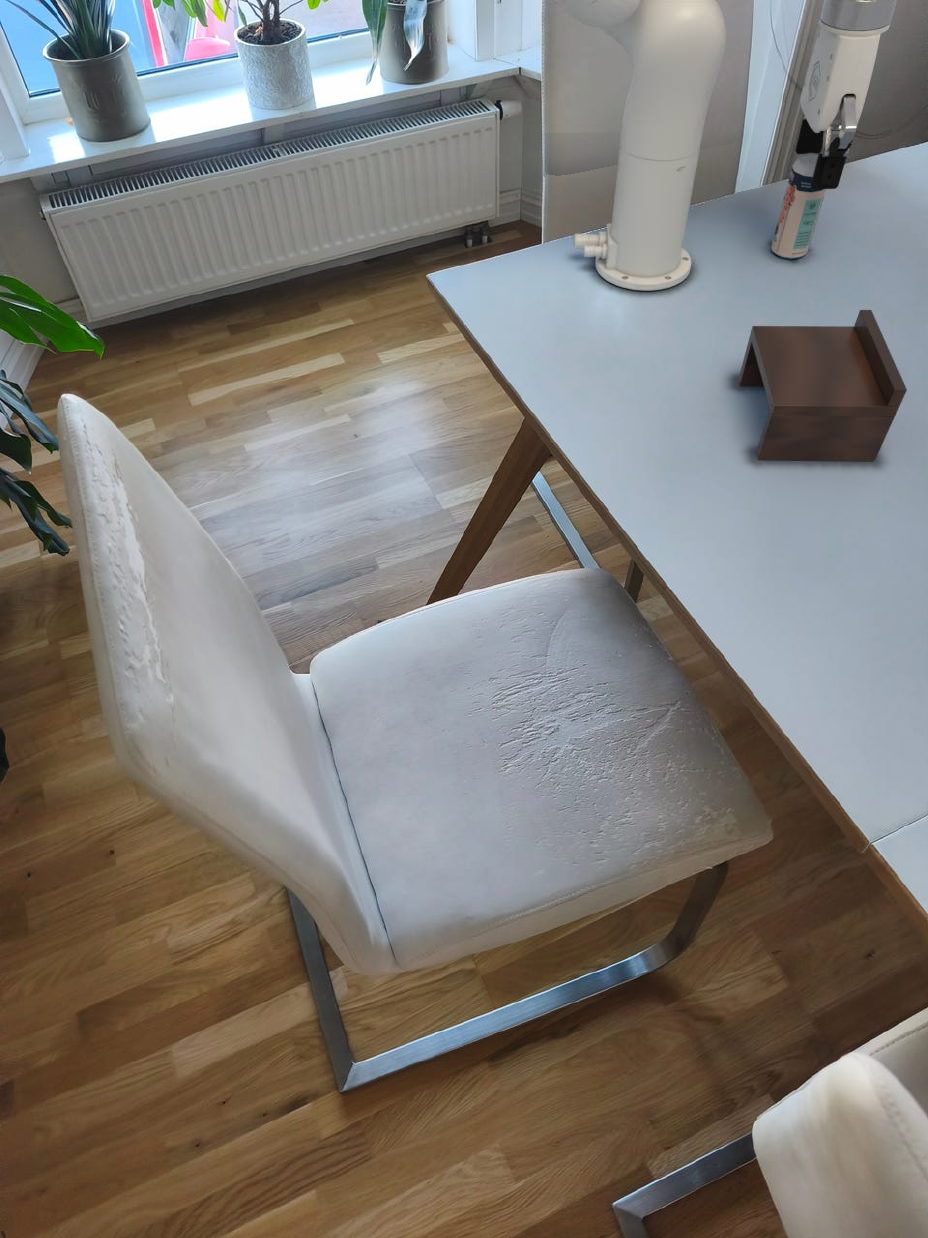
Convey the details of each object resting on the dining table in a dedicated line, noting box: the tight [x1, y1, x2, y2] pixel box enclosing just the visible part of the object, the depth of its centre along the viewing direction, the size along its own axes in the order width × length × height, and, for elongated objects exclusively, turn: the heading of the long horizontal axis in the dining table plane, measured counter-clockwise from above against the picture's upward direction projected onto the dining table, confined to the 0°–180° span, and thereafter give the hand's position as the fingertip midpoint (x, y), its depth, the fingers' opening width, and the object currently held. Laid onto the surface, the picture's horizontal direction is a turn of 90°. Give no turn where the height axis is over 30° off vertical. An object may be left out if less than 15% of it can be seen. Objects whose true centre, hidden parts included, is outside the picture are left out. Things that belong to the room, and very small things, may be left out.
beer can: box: [770, 153, 827, 260], centre depth 111 cm, size 5×5×12 cm
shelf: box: [737, 309, 908, 463], centre depth 90 cm, size 12×14×9 cm
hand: (815, 169), depth 107 cm, fingers open, 9 cm apart
